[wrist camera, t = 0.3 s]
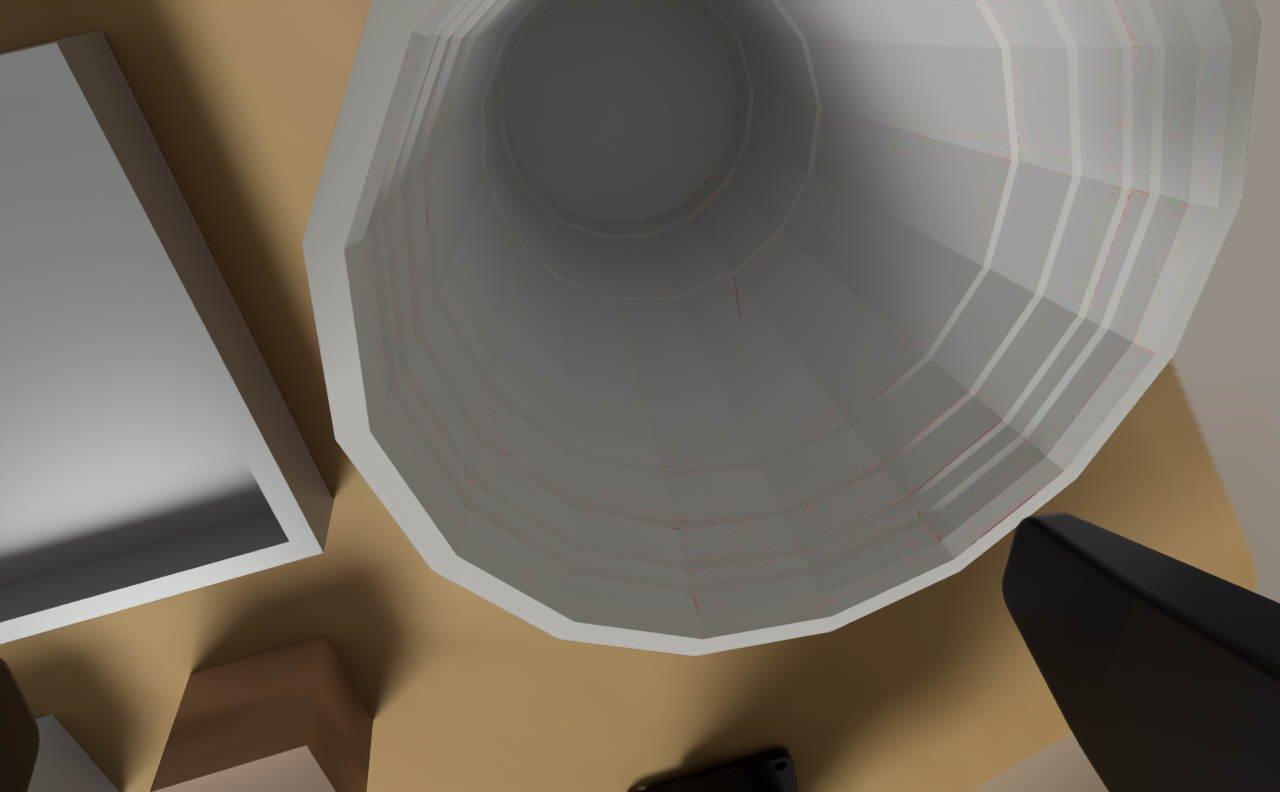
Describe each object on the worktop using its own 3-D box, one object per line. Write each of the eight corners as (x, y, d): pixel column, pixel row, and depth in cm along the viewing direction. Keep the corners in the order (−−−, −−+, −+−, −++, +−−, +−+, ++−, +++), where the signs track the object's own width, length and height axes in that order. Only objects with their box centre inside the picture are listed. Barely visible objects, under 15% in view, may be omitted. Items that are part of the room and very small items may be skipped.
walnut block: (373, 718, 27) (362, 834, 23) (249, 755, 26) (220, 878, 23) (325, 633, 25) (306, 745, 21) (191, 672, 24) (149, 792, 21)
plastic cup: (673, 394, 23) (854, 768, 13) (295, 182, 18) (104, 500, 8) (941, 48, 20) (1468, 177, 10) (565, -314, 15) (809, -816, 5)
